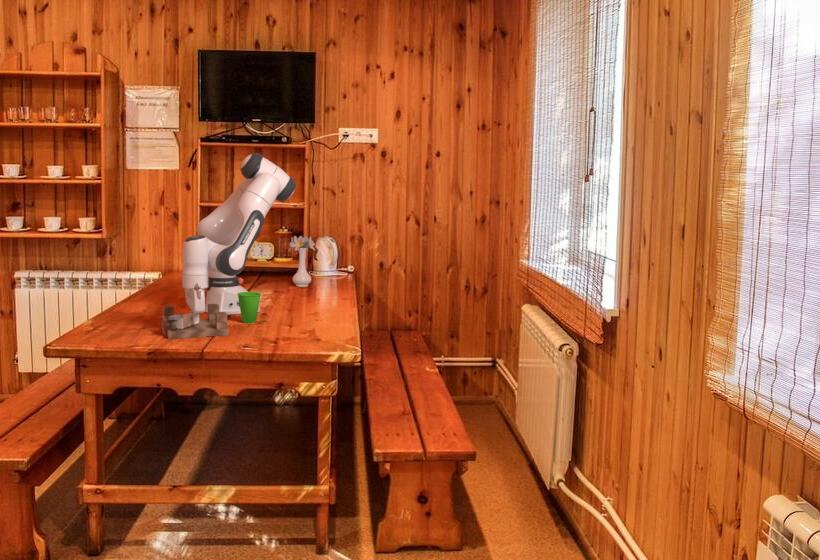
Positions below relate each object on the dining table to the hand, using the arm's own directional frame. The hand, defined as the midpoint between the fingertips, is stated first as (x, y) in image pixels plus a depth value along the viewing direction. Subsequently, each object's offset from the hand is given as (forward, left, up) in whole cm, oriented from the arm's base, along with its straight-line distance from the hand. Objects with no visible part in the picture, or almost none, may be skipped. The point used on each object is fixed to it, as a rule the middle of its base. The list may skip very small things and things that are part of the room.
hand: (195, 321), depth 280 cm
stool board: (0, -3, -4) cm, 5 cm away
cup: (-22, -15, -5) cm, 27 cm away
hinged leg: (+4, 0, -2) cm, 4 cm away
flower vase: (-65, -98, -5) cm, 118 cm away
